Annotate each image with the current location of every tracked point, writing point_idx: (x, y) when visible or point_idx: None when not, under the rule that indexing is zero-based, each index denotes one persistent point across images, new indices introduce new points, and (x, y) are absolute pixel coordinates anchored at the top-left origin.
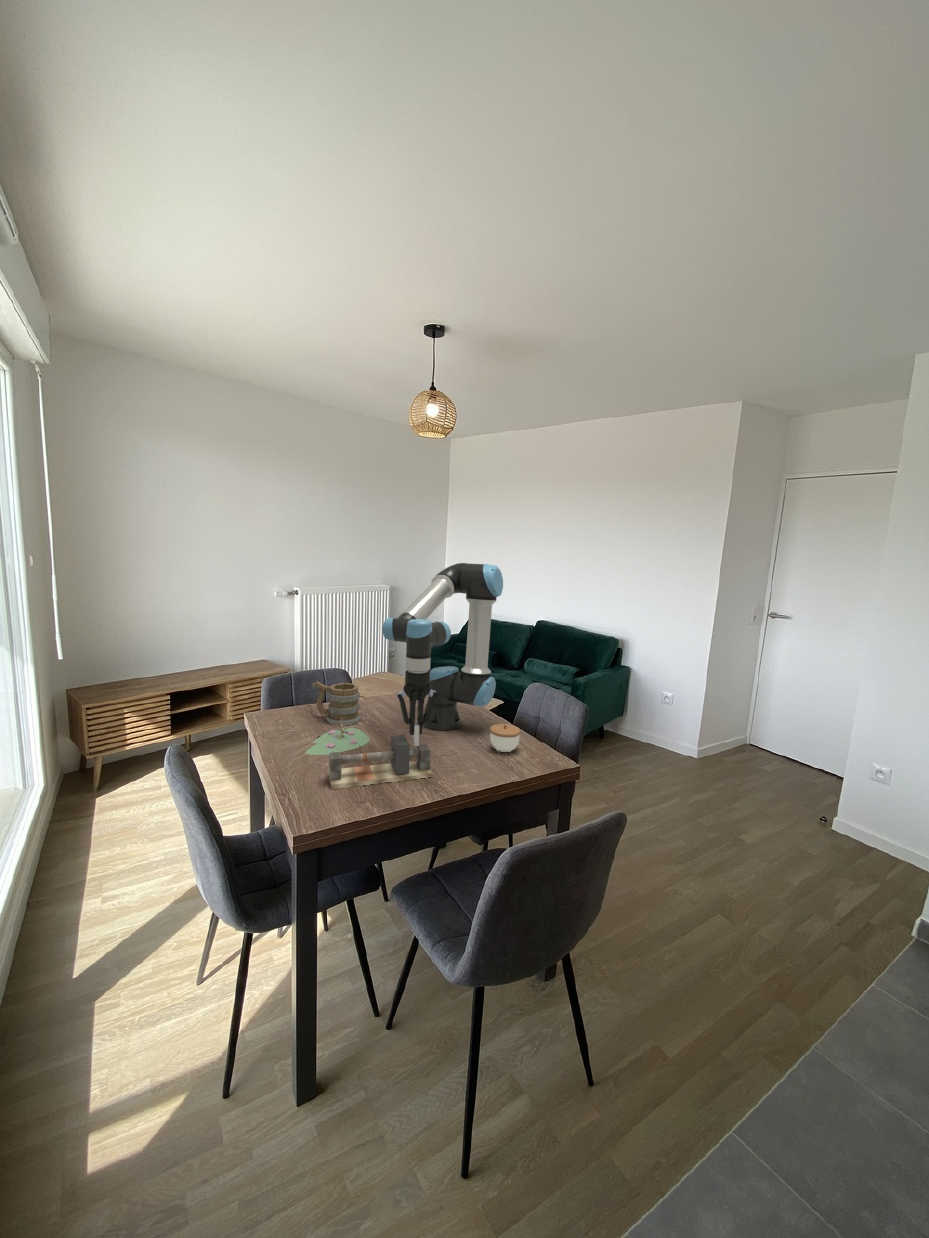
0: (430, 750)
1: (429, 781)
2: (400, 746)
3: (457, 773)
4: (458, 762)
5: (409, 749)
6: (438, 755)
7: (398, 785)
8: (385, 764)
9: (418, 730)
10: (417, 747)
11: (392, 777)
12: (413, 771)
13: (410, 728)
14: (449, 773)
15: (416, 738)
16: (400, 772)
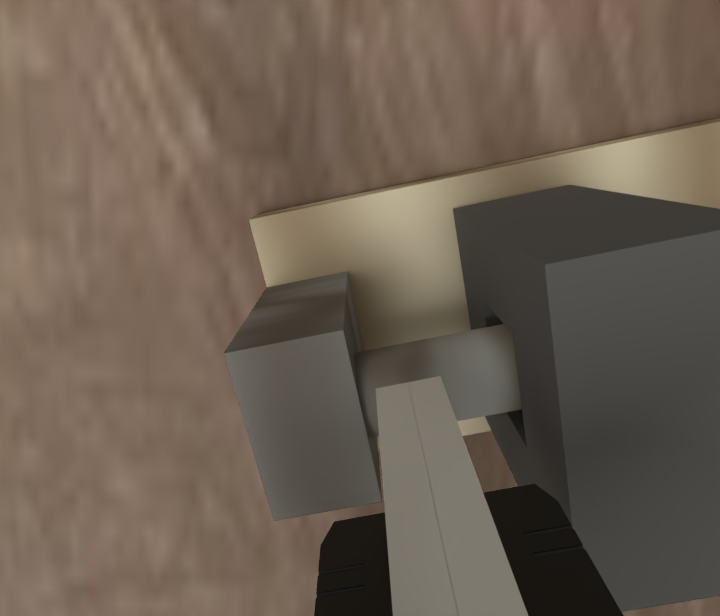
0: (226, 349)
1: (278, 150)
2: (695, 228)
3: (49, 284)
4: (49, 466)
5: (521, 246)
6: (200, 575)
7: (538, 88)
8: None
9: (404, 542)
10: (377, 468)
11: (600, 149)
12: (408, 260)
13: (604, 585)
14: (114, 287)
15: (423, 435)
16: (534, 193)
